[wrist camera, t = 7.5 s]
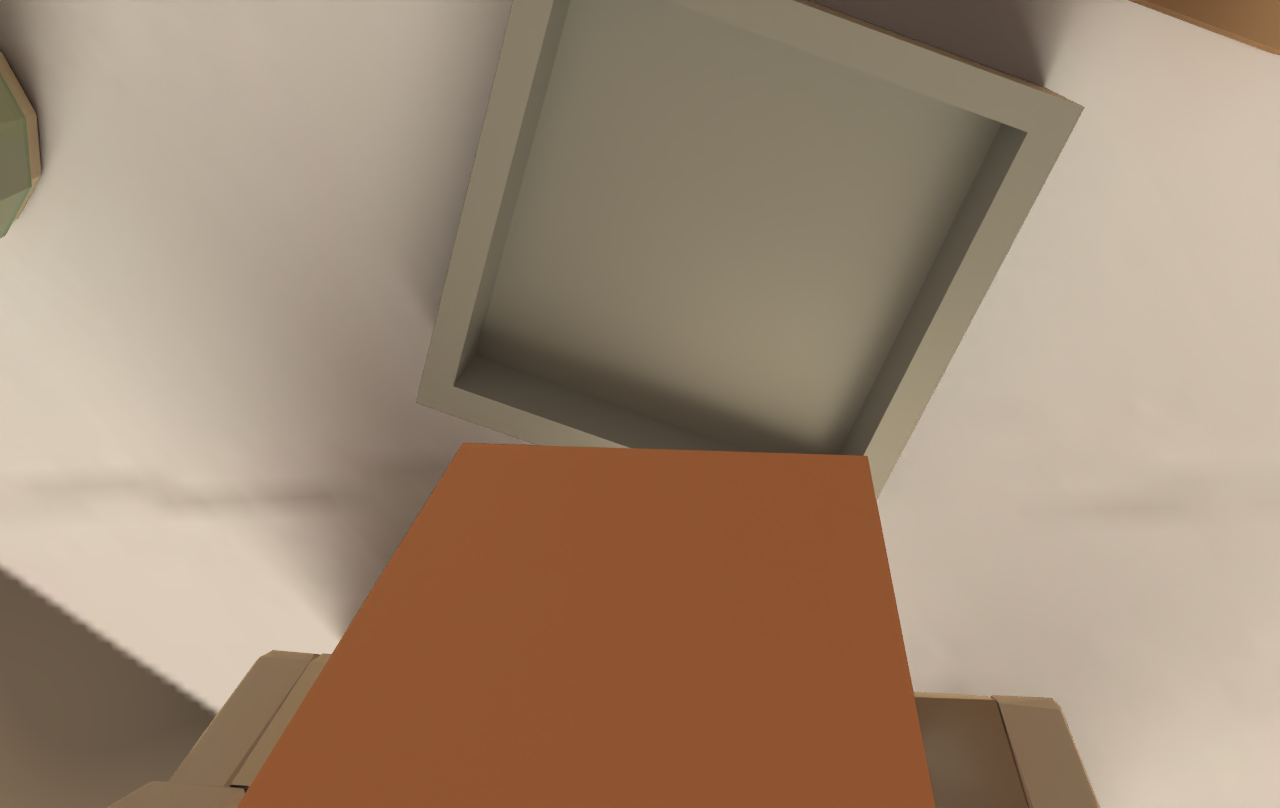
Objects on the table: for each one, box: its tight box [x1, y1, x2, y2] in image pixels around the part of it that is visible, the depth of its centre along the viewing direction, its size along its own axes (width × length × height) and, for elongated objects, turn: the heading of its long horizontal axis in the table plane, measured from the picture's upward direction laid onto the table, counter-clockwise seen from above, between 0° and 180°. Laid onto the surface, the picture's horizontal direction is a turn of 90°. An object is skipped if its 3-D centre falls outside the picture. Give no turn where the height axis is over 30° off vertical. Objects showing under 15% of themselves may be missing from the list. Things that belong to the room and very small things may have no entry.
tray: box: [416, 0, 1085, 500], centre depth 23 cm, size 12×12×3 cm
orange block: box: [237, 443, 936, 808], centre depth 8 cm, size 4×4×5 cm
